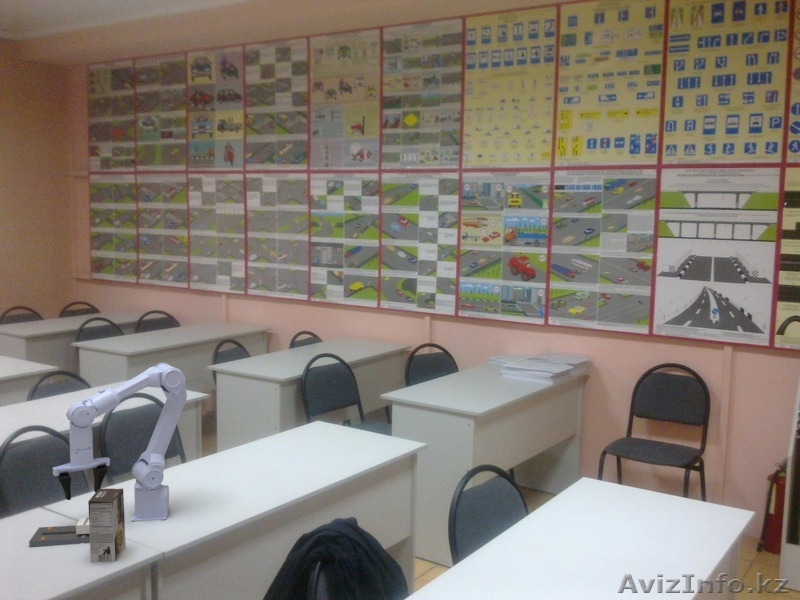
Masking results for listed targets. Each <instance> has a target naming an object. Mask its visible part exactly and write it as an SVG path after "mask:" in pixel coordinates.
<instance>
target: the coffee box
mask: <svg viewBox="0 0 800 600" xmlns="http://www.w3.org/2000/svg"><path fill="white" fill-rule="evenodd" d="M124 497H125V496H124V488H100V489H98V491H97V492H96V493H95V492H94V493H93V496H91V498H90V499H89V500H88V503H87V504H88V518H89V531H90V543H89V551H90V553H89V554H90V564H92V563H93V564H95V562H96V563H115V562H117V561H118V560H119V558H120V557H121V555H122V553H123V552H124V551H125V549H126V528H125V527H126V525H125V522H126V521H125V520H126V519H125V499H124Z"/></svg>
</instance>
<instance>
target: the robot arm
mask: <svg viewBox="0 0 800 600" xmlns="http://www.w3.org/2000/svg"><path fill="white" fill-rule="evenodd" d="M186 382H187V378H186V377H185V375H184V373H183V372H182V370H181V369H180V368H178V367H174V366H172V365H171V364H169V363H167V362H159V363H157V364H156V365H155V366H150V367H149V368H147V369H146V370H144V371H143V372H141V373H140V374H137V376H134V377H133V378H131V379H130V380H128V381H126V382H124V383H123V384H121V385H119V386H118V387H116V388H115V389H113V388H108V387H107V388H103V387H102V388H100V389H99V390H98V392H97V393H96V394H94V395H91V396H90V397H88V398H87V397H85V398H82V400H81V401H82V402H74V403H72V404H71V405H70V406H69V407H68V409H67V412H66V413H65V416H66V418H67V420H68V421H69V432H68V433H69V458H70V462H67V463H64V464H61V465H57V466H53V467H52V475H53V476H54V477H56V478H57V479H58V481H59V483H60V484H61V487H62V489H63V493H64V496H65V499H66V500H67V501H70V500H72V495H71V493H72V492H71V485H72V483H71V482H72V476H70V473H74V472H79V471H83V470H89V469H92V473H93V490H94V494H95V493H96V492H97V491H98V489H102V488H101V487H102V484H103V481H104V478H105V477H106V474H107V473H108V466H109V467H110V465H111V458H109V457H108V456H107V457H97V458H94V444H93V441H94V440H93V429H92V428H93V427H92V424H93V422H94V421H95V418H98V417H100V416H103V415H104V414H105V413H108V412H109V411H112V410H113V409H115V408H117V407H118V406H119V404H120V402H121V400H123V399H125V398H127V397H129V396H131V395H133V394H135V393H137V392H139V391H142V390H143V389H146V388H147V387H148V388H149V387H150V388H158V389H160V388H161V391H162V392H163V394H164V396H165V397H166V400H165V401H164V405H163V407H162V410H161V413H160V415H159V417H158V421H157V422H156V425H155V428H154V430H153V432H152V436H151V437H150V440H149V443H148V445H147V447H146V450H144V451H143V452H142V453H141V454H140V456H139V458H138V460H136V462H135V463H134V464H133V466H132V468H131V475H132V477H133V478H134V479H135V482H134V487H133V488H134V490H133V491H134V513H133V515H132V518H131V522H144V521H145V522H146V521H149V522H150V521H166V520H167V519H168V515H169V513H170V507H171V506H170V487H169V485H167V484H162V483H163V481H164V470H165V467H166V462H165V461H166V460H165V455H166V452H167V450H168V447H169V445H170V444H171V443H170V442H171V439H172V438H173V435H174V433H175V430H176V427H177V425H178V422H179V419H180V418H181V414H182V412H183V409H184V407H185V404H186V401H187V399H188V398H187V397H188V395H187V394H188V393H187V387H186Z"/></svg>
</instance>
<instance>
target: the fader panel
mask: <svg viewBox="0 0 800 600" xmlns="http://www.w3.org/2000/svg"><path fill="white" fill-rule="evenodd" d="M28 543H29V547H30V548H32V547H34V548H35V547H50V546H67V545H68V546H69V545H79V544H81V543H84V544H90V534H76V525H63V526H62V525H60V526H40V527H38V529H37V530H36V531H35V532H34V534H33V535H32V537H31V538H30V540H29V541H28Z"/></svg>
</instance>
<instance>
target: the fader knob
mask: <svg viewBox="0 0 800 600" xmlns="http://www.w3.org/2000/svg"><path fill="white" fill-rule="evenodd" d="M75 526H76V534H90V531H89V517H80V518H79V520H78V521H77V523H76V525H75Z"/></svg>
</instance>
